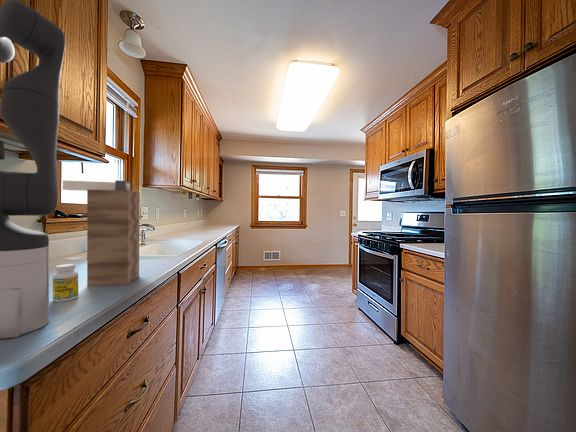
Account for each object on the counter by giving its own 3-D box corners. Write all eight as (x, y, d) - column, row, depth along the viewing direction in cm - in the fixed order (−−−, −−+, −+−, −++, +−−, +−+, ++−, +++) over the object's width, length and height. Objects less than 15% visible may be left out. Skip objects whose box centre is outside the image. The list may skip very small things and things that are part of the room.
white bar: (125, 191, 85) (125, 180, 84) (61, 189, 81) (61, 178, 81) (130, 192, 89) (130, 182, 89) (70, 190, 85) (70, 180, 85)
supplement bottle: (79, 294, 73) (79, 262, 72) (76, 300, 68) (76, 266, 68) (55, 297, 70) (55, 264, 69) (50, 303, 65) (50, 268, 65)
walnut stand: (127, 284, 83) (127, 190, 82) (87, 286, 80) (87, 189, 80) (139, 276, 93) (139, 192, 92) (103, 277, 90) (103, 191, 89)
